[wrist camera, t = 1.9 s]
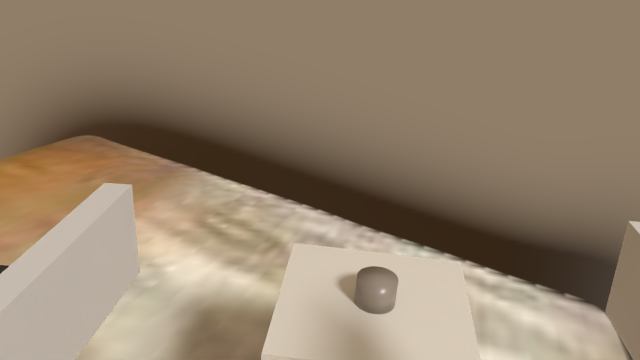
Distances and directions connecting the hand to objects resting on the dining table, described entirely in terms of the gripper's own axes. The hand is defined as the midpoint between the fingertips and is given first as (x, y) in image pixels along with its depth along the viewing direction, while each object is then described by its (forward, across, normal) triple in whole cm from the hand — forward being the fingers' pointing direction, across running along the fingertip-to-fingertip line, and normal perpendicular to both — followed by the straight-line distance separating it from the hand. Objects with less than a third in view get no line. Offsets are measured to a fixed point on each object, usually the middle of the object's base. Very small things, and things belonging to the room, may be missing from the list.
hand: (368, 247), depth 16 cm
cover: (+11, 0, -20) cm, 23 cm away
